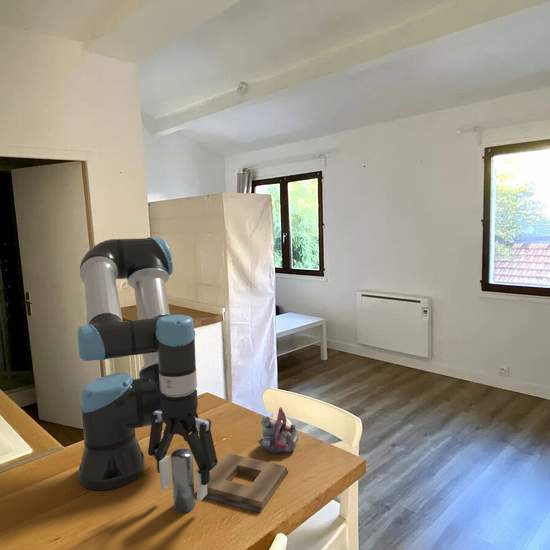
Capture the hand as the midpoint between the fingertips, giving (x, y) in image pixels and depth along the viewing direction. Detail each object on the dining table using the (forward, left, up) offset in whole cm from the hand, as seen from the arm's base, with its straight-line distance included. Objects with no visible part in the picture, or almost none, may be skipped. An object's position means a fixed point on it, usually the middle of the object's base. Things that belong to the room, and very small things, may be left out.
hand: (183, 491), depth 93 cm
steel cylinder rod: (0, 0, -3) cm, 3 cm away
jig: (+8, +12, -3) cm, 15 cm away
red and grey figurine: (+9, +30, -4) cm, 32 cm away
